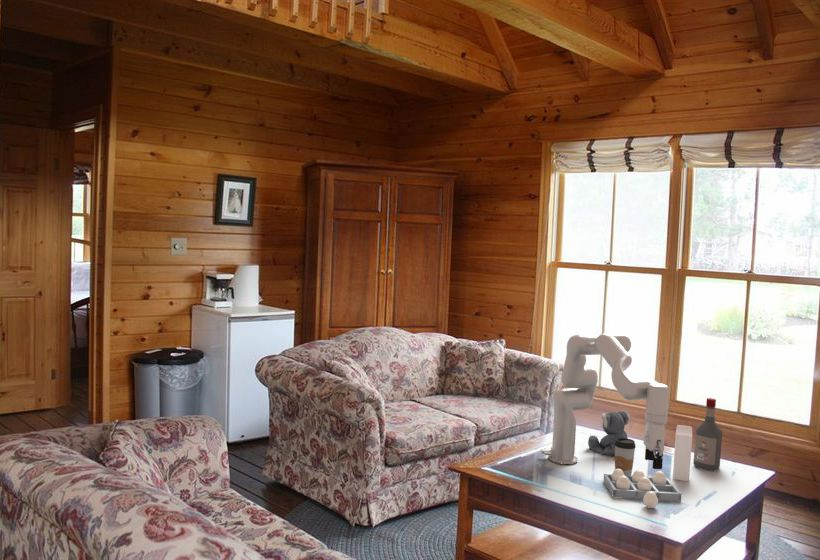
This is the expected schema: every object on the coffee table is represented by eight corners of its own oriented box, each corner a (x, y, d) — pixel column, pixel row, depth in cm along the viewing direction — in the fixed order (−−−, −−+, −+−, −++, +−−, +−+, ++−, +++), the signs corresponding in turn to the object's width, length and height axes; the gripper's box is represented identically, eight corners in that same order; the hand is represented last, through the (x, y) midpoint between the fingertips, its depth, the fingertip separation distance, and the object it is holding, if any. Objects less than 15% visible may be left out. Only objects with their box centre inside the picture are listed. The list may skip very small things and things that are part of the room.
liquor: (712, 472, 294) (717, 402, 292) (691, 466, 301) (696, 398, 299) (721, 468, 301) (726, 400, 298) (700, 462, 307) (705, 395, 305)
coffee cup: (608, 475, 285) (611, 440, 284) (618, 471, 291) (620, 436, 290) (627, 481, 279) (630, 445, 278) (637, 476, 285) (639, 440, 284)
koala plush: (614, 445, 328) (617, 404, 326) (641, 457, 311) (644, 414, 310) (584, 448, 321) (587, 407, 319) (610, 461, 304) (613, 417, 303)
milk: (672, 474, 290) (676, 422, 288) (688, 477, 288) (691, 424, 286) (673, 479, 284) (676, 426, 282) (689, 481, 282) (692, 428, 281)
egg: (644, 509, 251) (645, 493, 250) (640, 504, 256) (641, 488, 256) (659, 510, 251) (660, 494, 250) (655, 505, 256) (656, 489, 255)
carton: (613, 497, 261) (614, 479, 261) (603, 481, 278) (604, 464, 278) (681, 501, 260) (682, 483, 259) (667, 485, 277) (668, 468, 276)
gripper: (639, 411, 260) (636, 456, 261) (652, 423, 242) (649, 471, 244) (659, 412, 259) (656, 457, 260) (674, 425, 242) (671, 473, 243)
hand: (653, 464), depth 252 cm, fingers open, 9 cm apart
